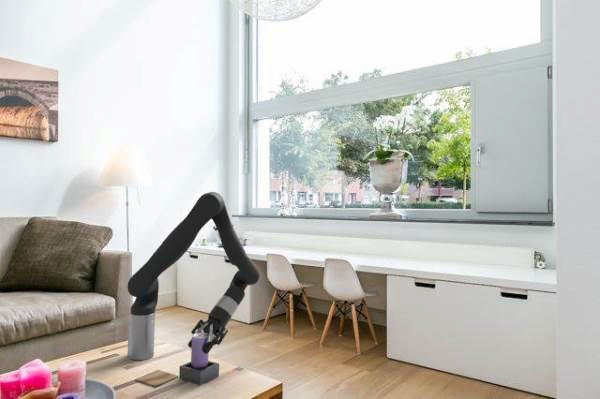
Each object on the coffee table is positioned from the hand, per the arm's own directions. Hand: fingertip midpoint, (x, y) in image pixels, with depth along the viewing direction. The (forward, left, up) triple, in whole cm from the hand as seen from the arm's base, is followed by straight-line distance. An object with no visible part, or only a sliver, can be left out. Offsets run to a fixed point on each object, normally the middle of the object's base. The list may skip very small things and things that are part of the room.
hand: (196, 349), depth 152 cm
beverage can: (0, +1, -10) cm, 10 cm away
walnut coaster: (-11, -8, -10) cm, 17 cm away
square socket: (0, +1, -10) cm, 10 cm away
